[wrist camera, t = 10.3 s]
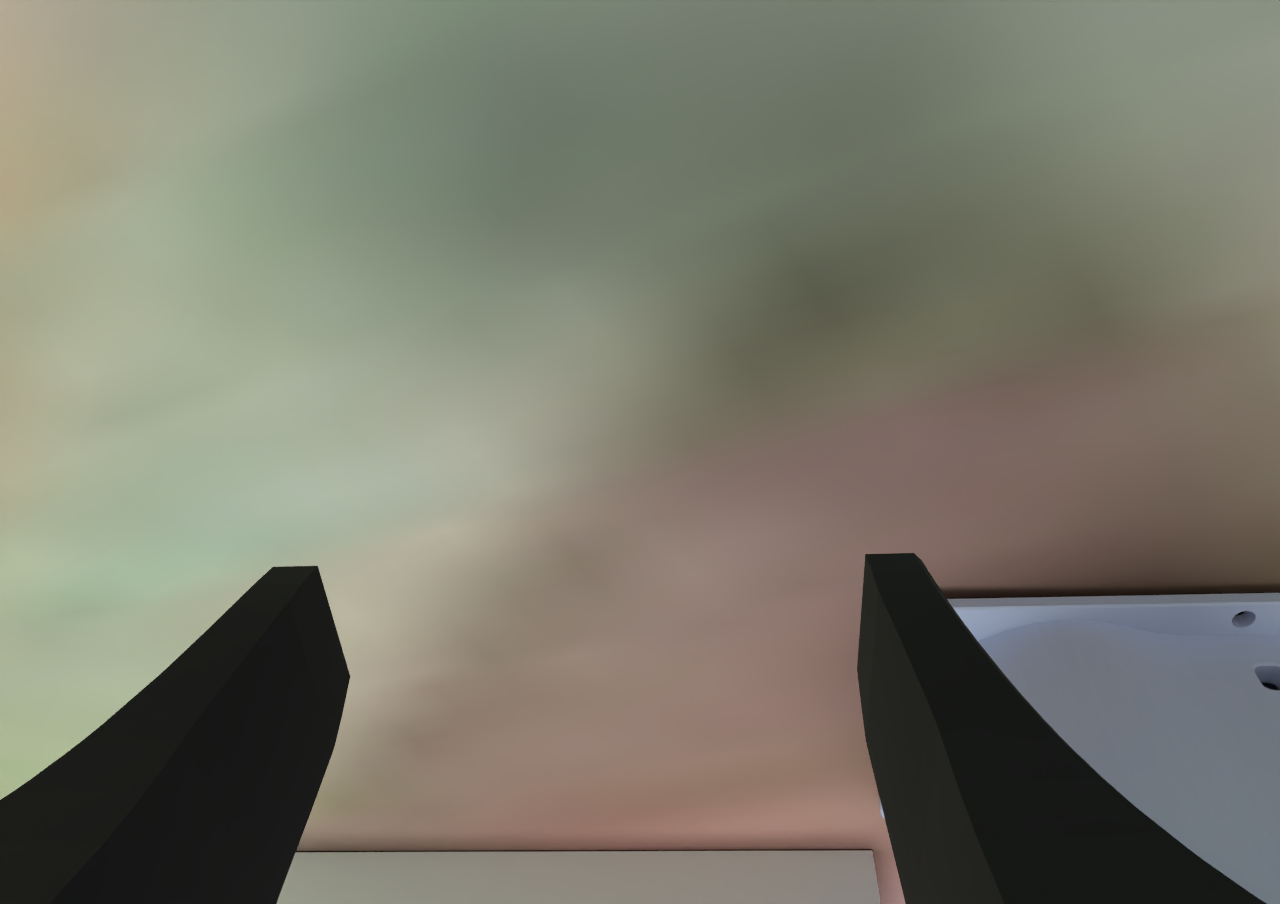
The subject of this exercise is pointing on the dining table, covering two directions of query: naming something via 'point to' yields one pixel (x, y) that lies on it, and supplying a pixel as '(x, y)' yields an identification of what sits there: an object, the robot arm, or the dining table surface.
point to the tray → (582, 877)
